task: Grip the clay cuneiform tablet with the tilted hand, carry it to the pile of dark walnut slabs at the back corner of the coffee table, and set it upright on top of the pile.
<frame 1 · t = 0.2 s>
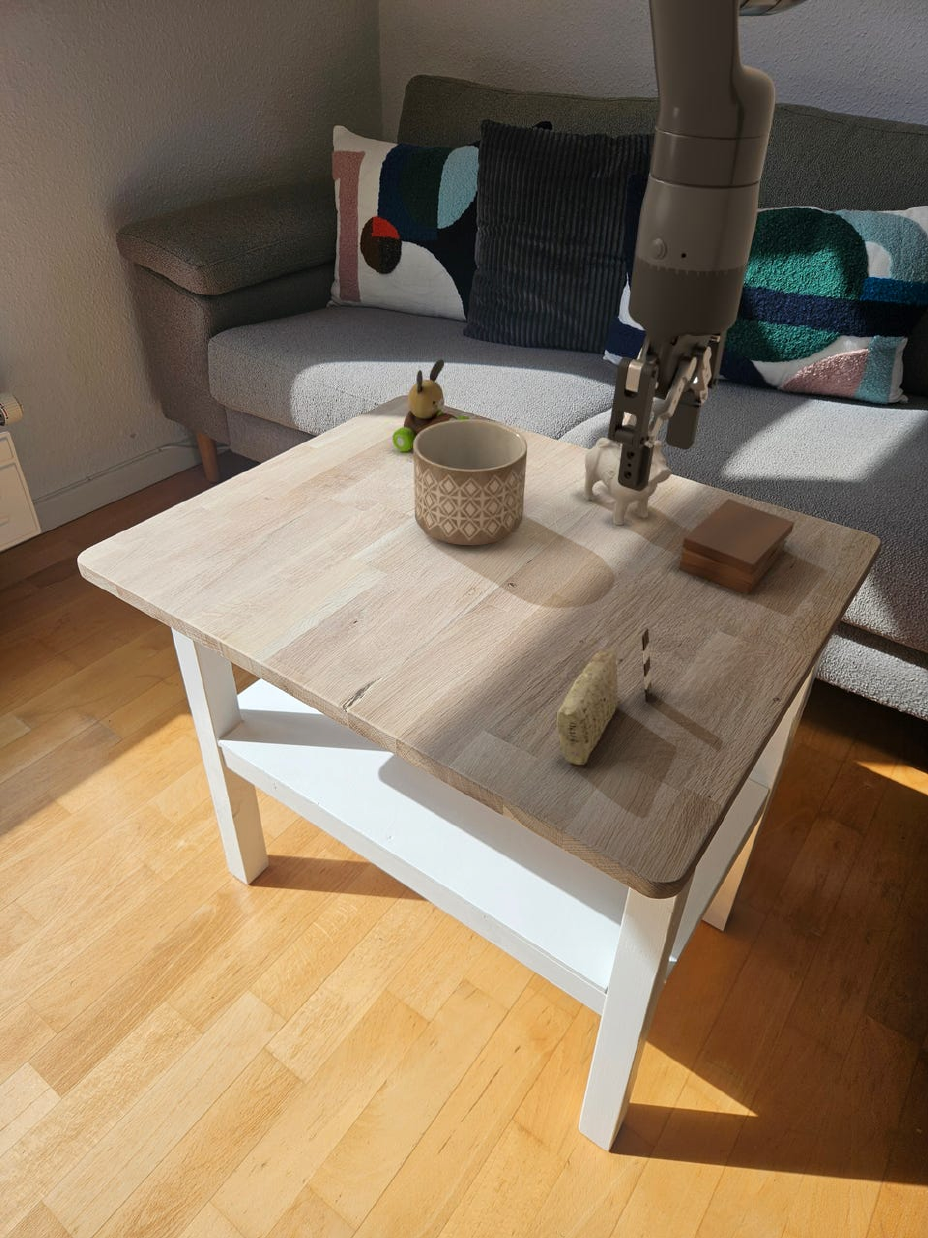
hand: (656, 465, 69), 22 cm above the table, tool pointing down, fingers open, 8 cm apart
dog figurine: (621, 511, 106), on the table
toy car: (433, 444, 119), on the table
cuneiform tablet: (602, 725, 77), on the table
planter: (468, 524, 103), on the table
slab pile: (731, 559, 98), on the table
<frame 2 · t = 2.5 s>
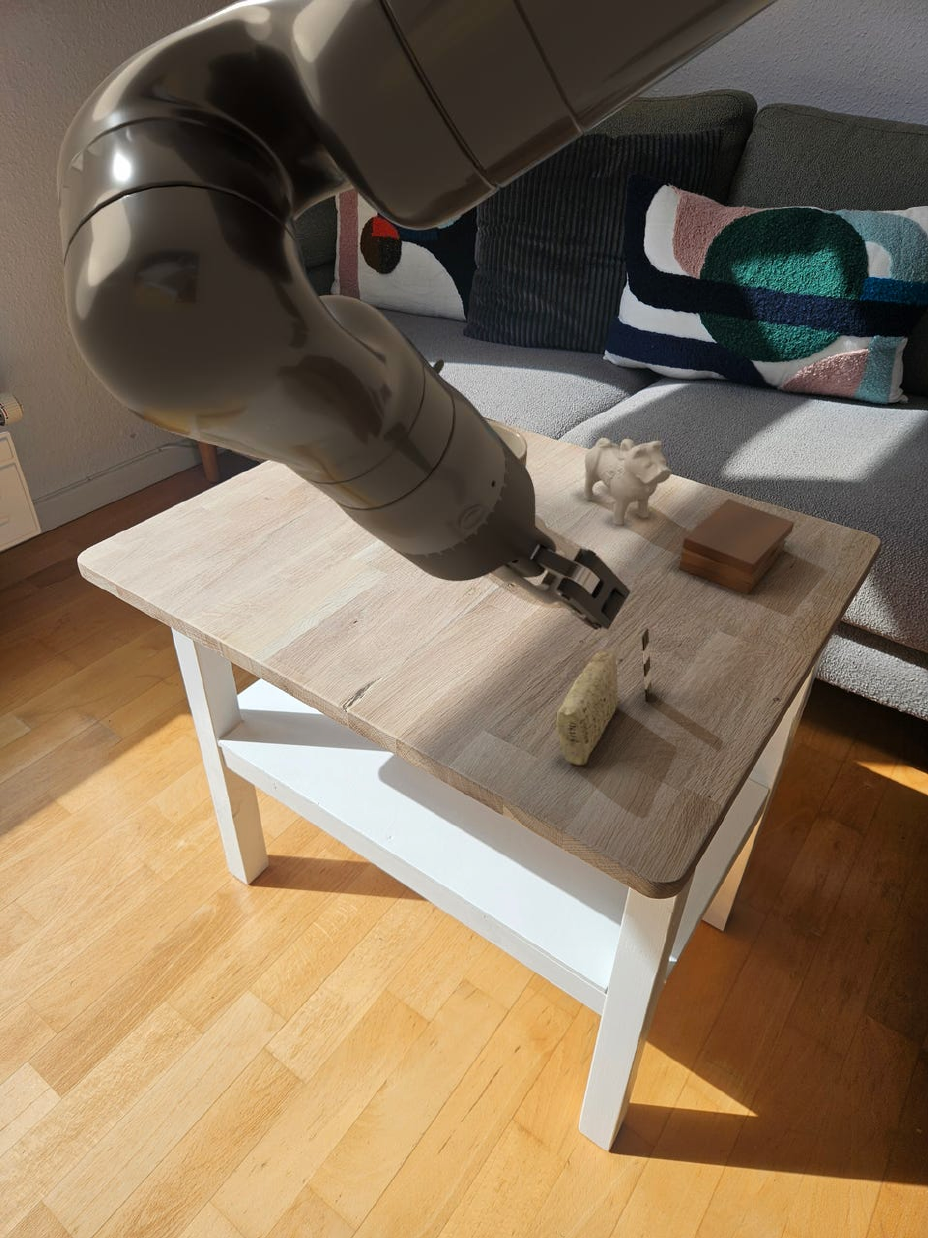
hand: (546, 584, 55), 22 cm above the table, tool tilted 40°, fingers open, 8 cm apart
nothing on the table moved.
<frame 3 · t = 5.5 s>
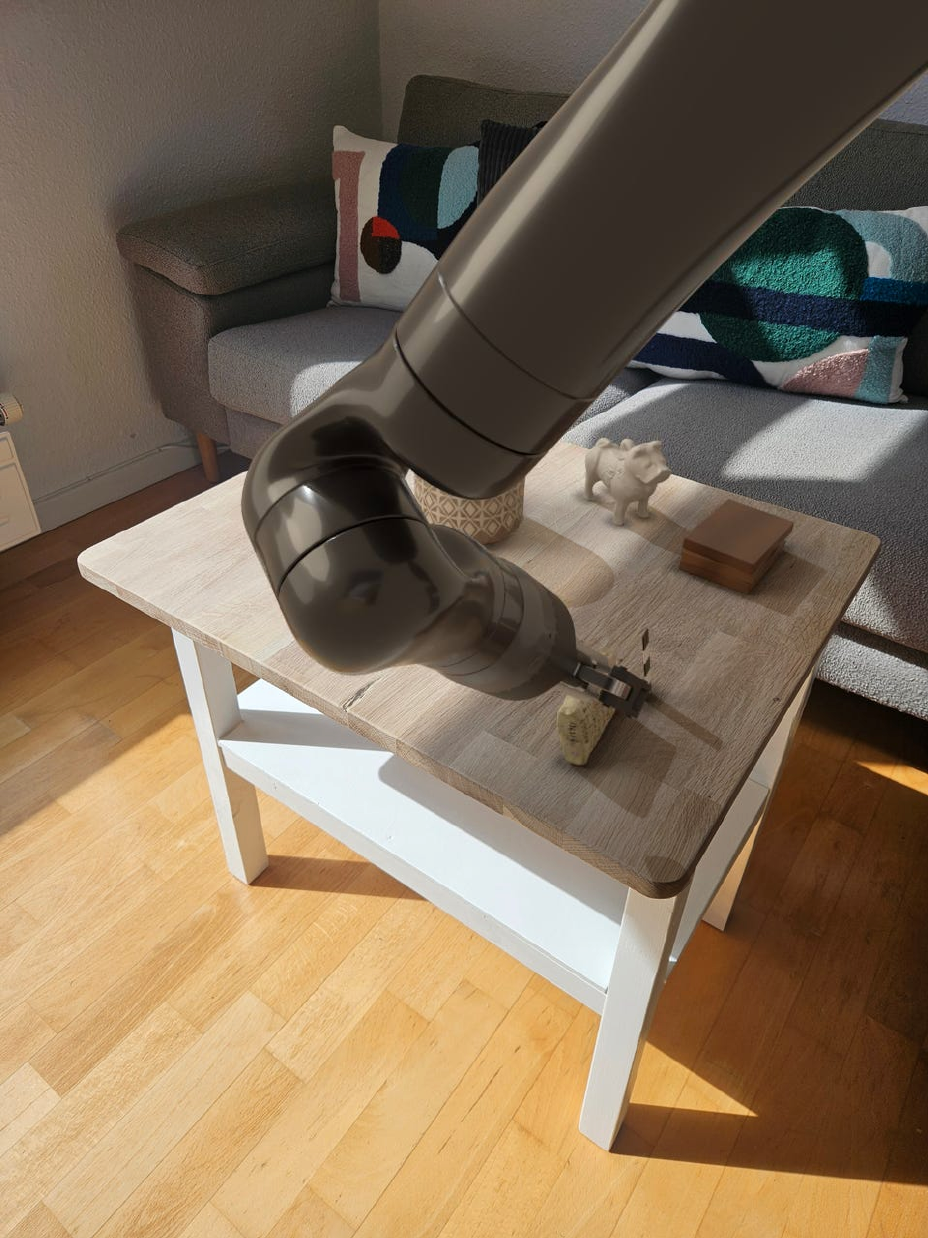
hand: (572, 671, 65), 11 cm above the table, tool tilted 45°, fingers open, 8 cm apart
nothing on the table moved.
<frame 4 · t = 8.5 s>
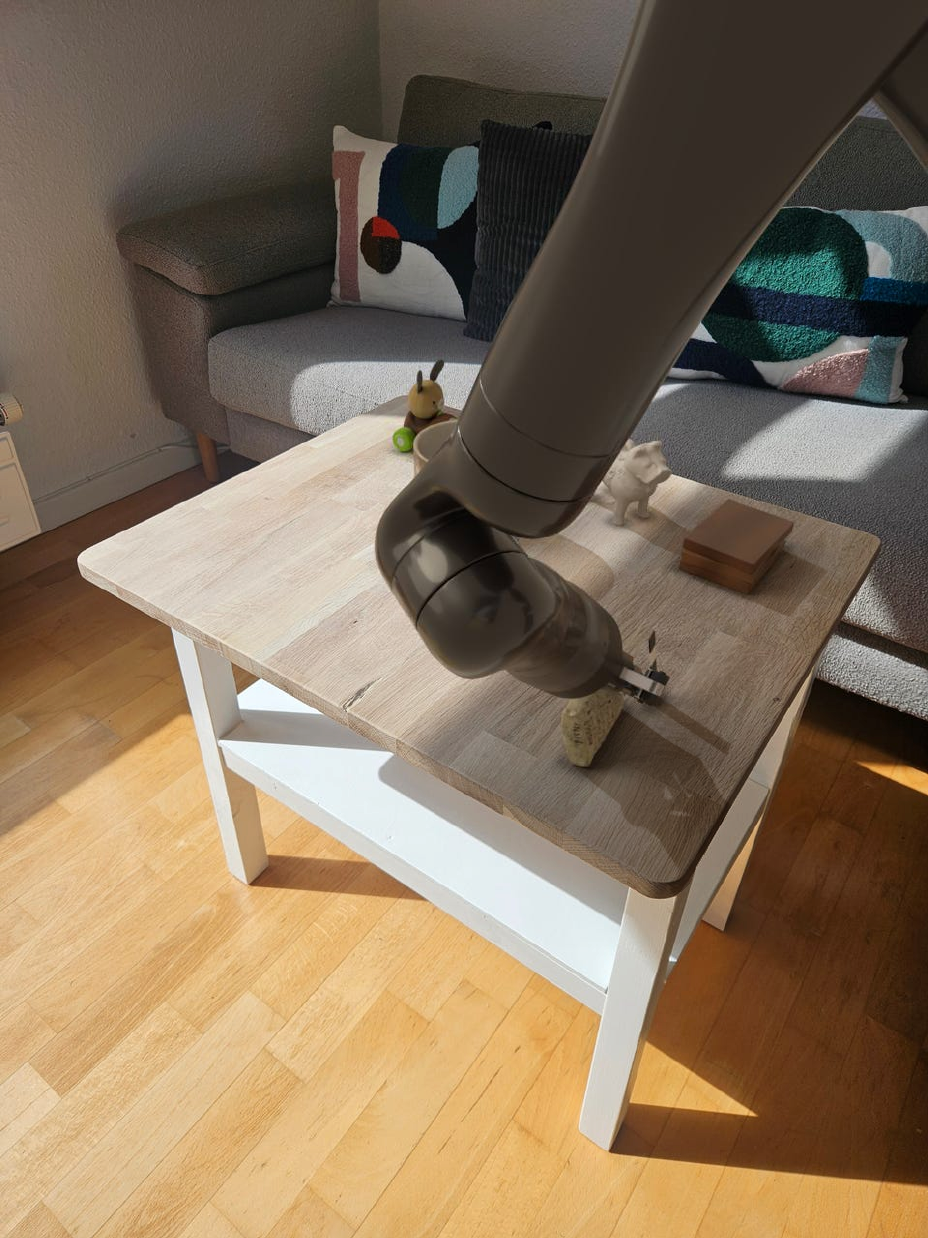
hand: (613, 674, 76), 4 cm above the table, tool tilted 45°, fingers closed on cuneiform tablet, 3 cm apart
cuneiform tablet: (607, 727, 77), on the table, touching gripper
everything else where it was.
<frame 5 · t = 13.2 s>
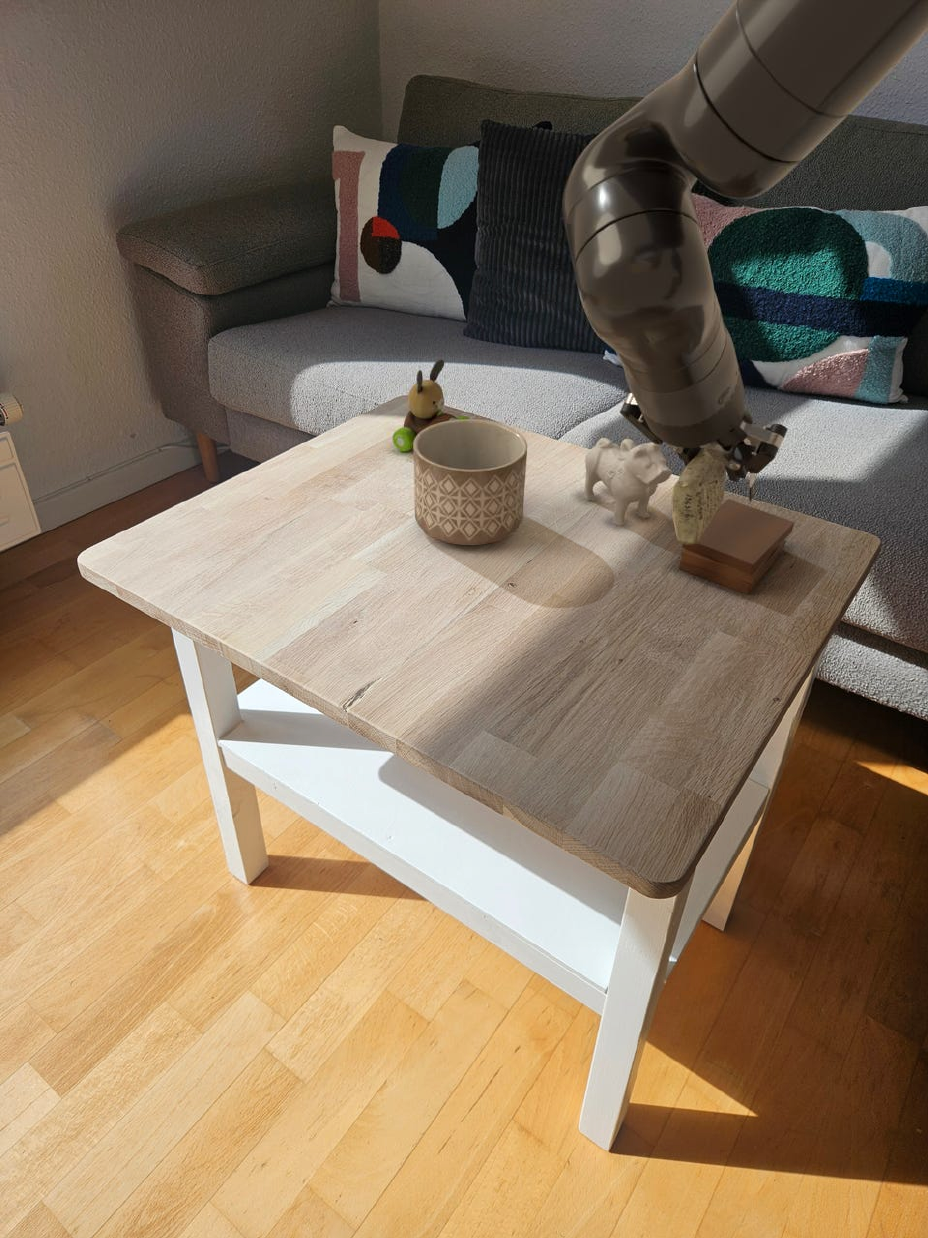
hand: (716, 464, 78), 18 cm above the table, tool tilted 45°, fingers closed on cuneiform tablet, 3 cm apart
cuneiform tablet: (709, 518, 79), point 13 cm above the table, touching gripper
everything else where it was.
when the fingers open (8 cm above the table, at t = 18.2 s): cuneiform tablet stays where it is, resting on slab pile.
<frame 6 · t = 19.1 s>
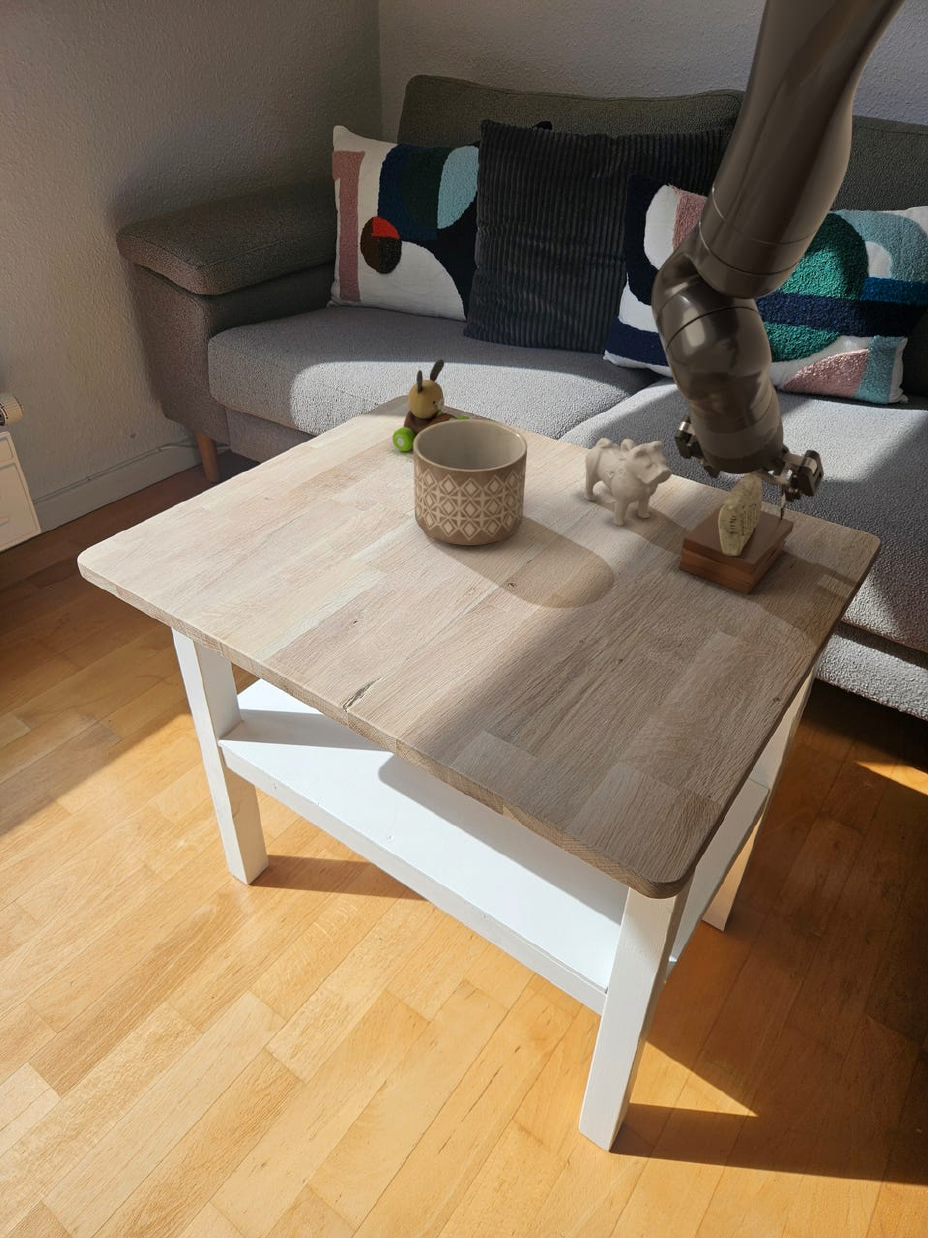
hand: (754, 481, 93), 9 cm above the table, tool tilted 45°, fingers open, 8 cm apart
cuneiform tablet: (747, 533, 95), point 4 cm above the table, touching slab pile
everything else where it was.
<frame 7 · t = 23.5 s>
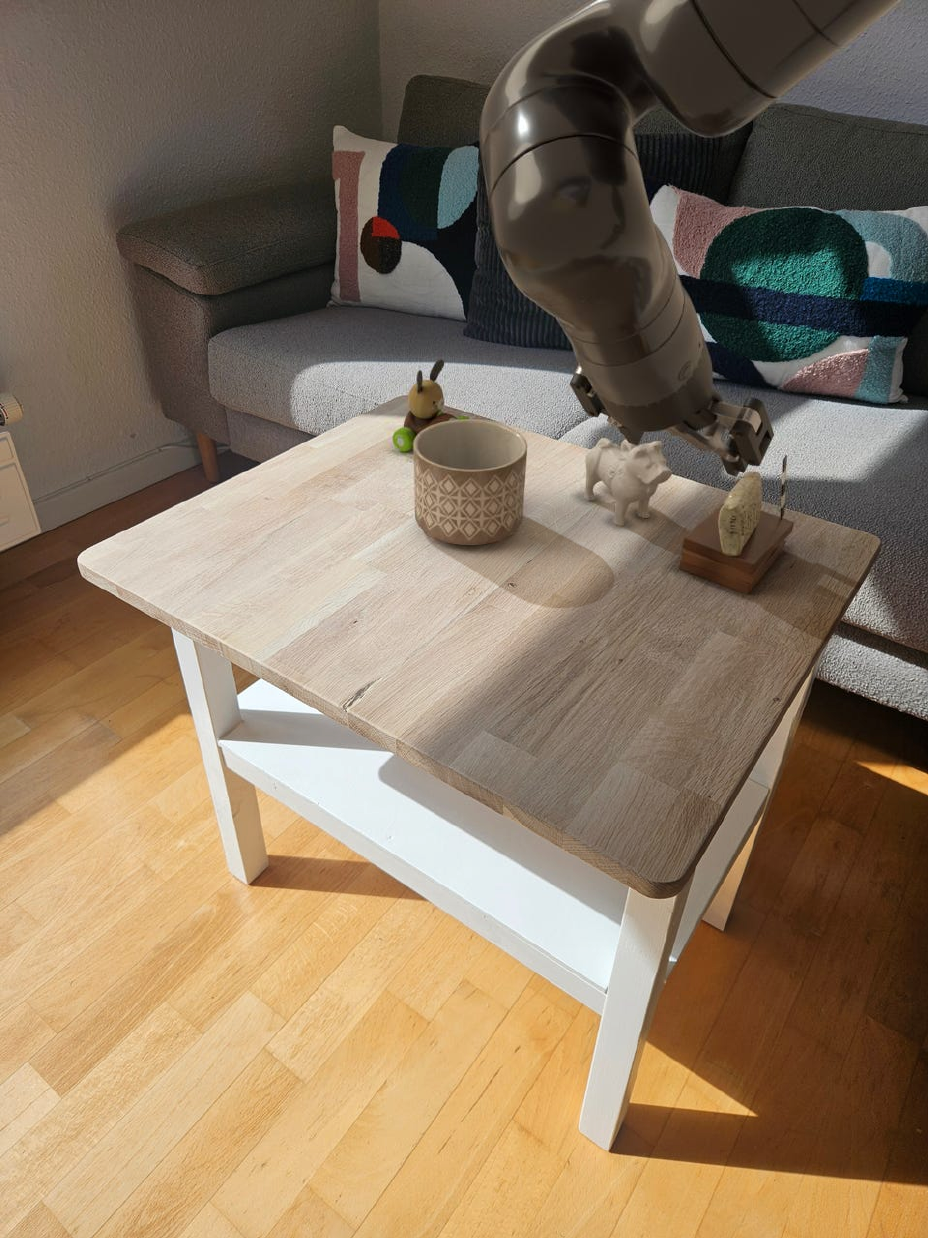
hand: (686, 448, 69), 23 cm above the table, tool tilted 45°, fingers open, 8 cm apart
nothing on the table moved.
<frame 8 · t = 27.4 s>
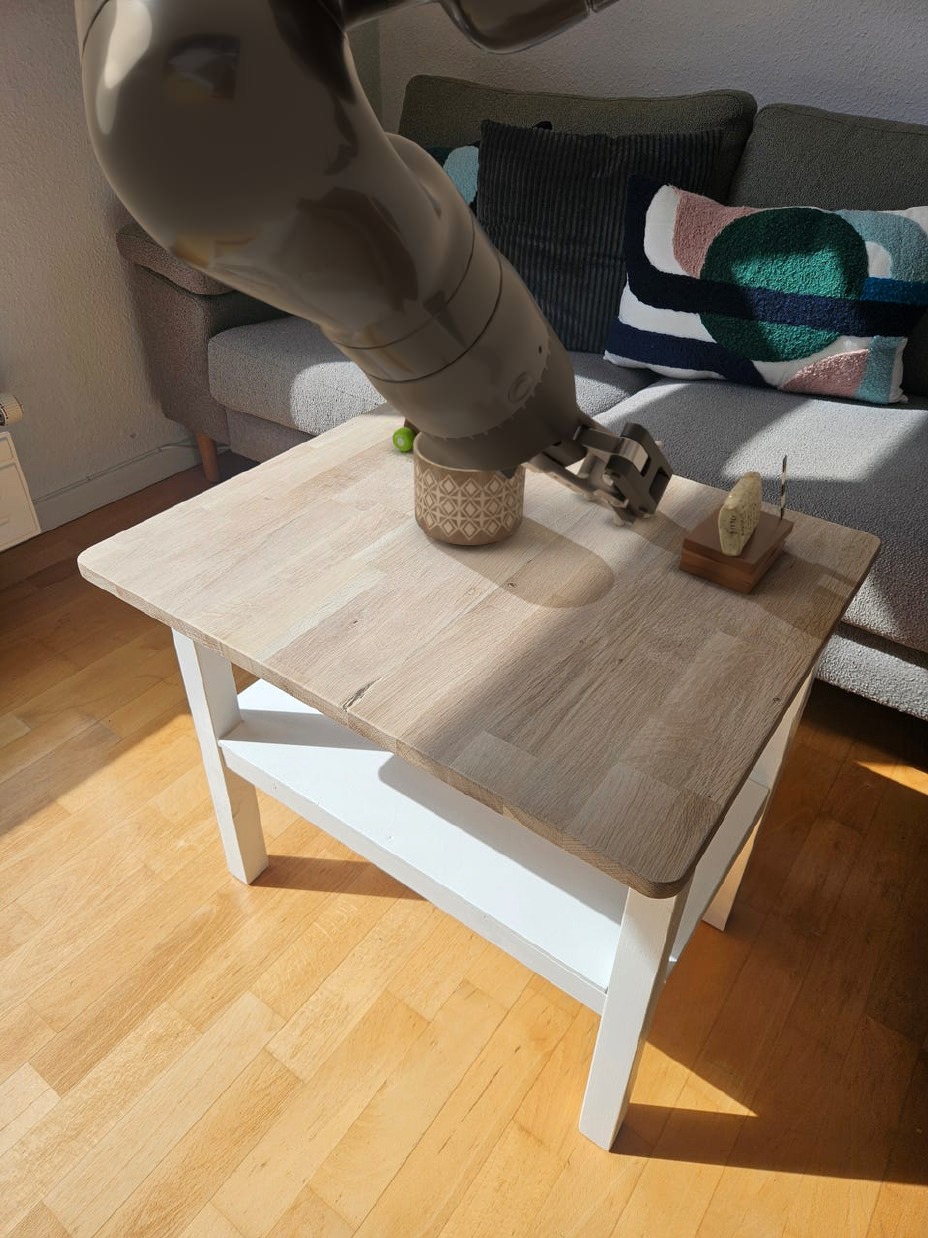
hand: (572, 484, 52), 29 cm above the table, tool tilted 45°, fingers open, 8 cm apart
nothing on the table moved.
at the end: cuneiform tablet inside the target area on the slab pile (1.0 cm from its centre), point 3.7 cm above the slab pile's base; the gripper is holding nothing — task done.
